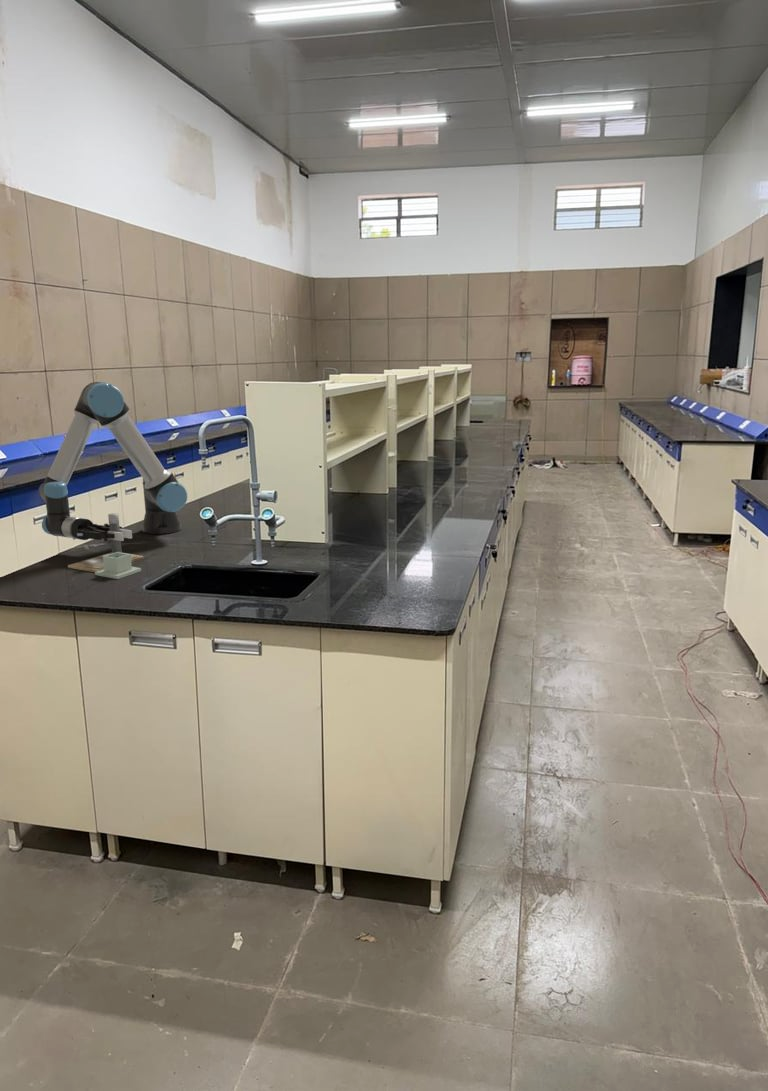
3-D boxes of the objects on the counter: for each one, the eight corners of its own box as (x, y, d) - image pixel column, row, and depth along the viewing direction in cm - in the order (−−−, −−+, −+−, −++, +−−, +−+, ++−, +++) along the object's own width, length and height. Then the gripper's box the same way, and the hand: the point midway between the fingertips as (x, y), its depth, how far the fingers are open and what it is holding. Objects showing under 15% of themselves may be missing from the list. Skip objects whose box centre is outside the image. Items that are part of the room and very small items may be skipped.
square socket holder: (119, 567, 245) (117, 549, 244) (141, 571, 241) (139, 553, 239) (95, 574, 236) (93, 557, 235) (117, 579, 232) (115, 560, 230)
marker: (117, 554, 256) (113, 512, 253) (124, 556, 255) (120, 513, 251) (110, 557, 254) (106, 514, 250) (117, 558, 252) (113, 515, 248)
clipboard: (114, 553, 262) (114, 549, 262) (143, 558, 256) (143, 554, 255) (68, 567, 245) (67, 563, 244) (97, 573, 239) (97, 568, 238)
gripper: (97, 534, 268) (145, 541, 258) (60, 543, 254) (109, 551, 244) (95, 514, 266) (143, 520, 256) (58, 522, 252) (107, 529, 242)
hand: (126, 535), depth 250 cm, fingers closed on marker, 3 cm apart
